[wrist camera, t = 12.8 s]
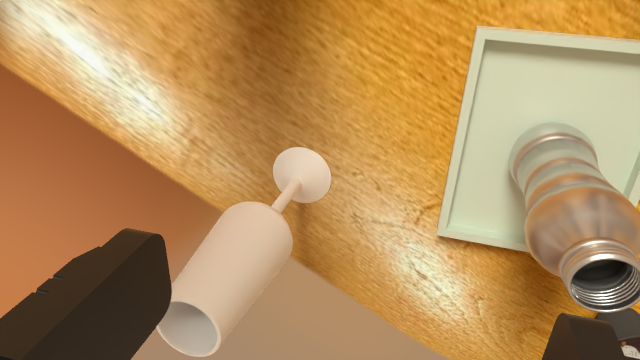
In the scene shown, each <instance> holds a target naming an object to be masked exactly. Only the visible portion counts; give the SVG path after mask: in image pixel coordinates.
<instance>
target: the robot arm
mask: <svg viewBox="0 0 640 360" xmlns="http://www.w3.org/2000/svg"><path fill="white" fill-rule="evenodd" d="M171 296H172V287H171V280H170V274H169V267H168V261H167V254H166V247H165V242H164V239H163V237H162V236H161V235H159V234H155V233H150V232H144V231H140V230H134V229H129V228H127V229H123V230H121V231H120V232H119V233H118V234H116V235H115V236H114V237H113V238H112V239H111V240H109V241H108V242H107V243H106V244H105V245H103V246H102V247H97V248H94V249H93V250H90V251H88V252H86V253H84V254H82V255H80V256H78V257H76V258H74V259H72V260H71V261H70V262H69V263H68V264H66V265H65V266H64V267H63V268H61V269H60V270H59V271H58V272H57V273H55V274H54V276H53V278H52V279H48V280H47V281H46V282H45V283H43V284H42V285H41V286H40V287H38V288H37V291H36V293H31V294H30V295H29V296H27V297H26V298H25V299H24V300H22V301H21V302H20V303H19V304H18V305H16V306H15V307H14V308H13V309H11V310H10V311H9V312H8V313H7V314H5V315H4V316H3V317H2V318H0V360H131V358H132V357H133V356H134V354H135V353H136V352H137V351H138V349H139V348H140V347H141V345H142V344H143V343H144V342H145V340H146V339H147V338H148V337H149V335H150V334H151V333H152V331H153V330H154V329H155V328H156V326H157V325H158V324H159V323H160V321H161V320H162V319H163V317H164V316H165V314H166V312H167V310H168V308H169V305H170V302H171ZM542 360H640V359H638V358H633V357H628V356H625V355H624V353H623V350H622V348H621V345H620V343H619V341H618V338H617V336H616V333H615V331H614V329H613V327H612V325H611V324H610V323H609V322H606V321H601V320H596V319H591V318H586V317H581V316H575V315H570V314H565V313H561V314H560V315H559V316H558V318H557V319H556V322H555V324H554V327H553V330H552V333H551V336H550V338H549V341H548V344H547V347H546V349H545V352H544V355H543V358H542Z"/></svg>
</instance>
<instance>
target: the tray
mask: <svg viewBox="0 0 640 360" xmlns="http://www.w3.org/2000/svg"><path fill="white" fill-rule="evenodd" d="M551 122H554V123H563V124H567V125H570V126H572V127H574V128H576V129H578V130H580V131H581V132H583V133H584V134H586V136H587V137H588V138H589V139H590V140H591V142H592V143H593V145H594V148H595V151H596V155H597V159H598V167H599V169H600V172H601V174H602V175H603V176H604V177H605V179H606V180H607V181H608V182H609V183H610V184H611V185H612V186H613V187H614V188H616V189H617V190H618V191H619V192H620V193H622V194H623V195H624V196H625V197H626V198H627V199H628V200H629V201H630V202H631V203H632V204H633V205H634V207H635V208H636V206H637V204H638V201H639V199H640V40H636V39H625V38H614V37H602V36H591V35H580V34H569V33H557V32H546V31H535V30H524V29H513V28H501V27H490V26H479V25H476V30H475V35H474V40H473V45H472V50H471V56H470V61H469V66H468V71H467V76H466V81H465V86H464V92H463V97H462V102H461V107H460V112H459V117H458V122H457V127H456V133H455V138H454V143H453V148H452V153H451V158H450V163H449V168H448V174H447V179H446V184H445V189H444V194H443V199H442V204H441V209H440V215H439V220H438V225H437V235H439V236H444V237H449V238H455V239H460V240H465V241H471V242H476V243H481V244H487V245H492V246H497V247H502V248H508V249H513V250H518V251H524V252H529V250H528V248H527V245H526V242H525V230H524V226H525V214H526V205H525V197H524V195H523V193H522V191H521V189H520V188H519V187H518V185H517V184H516V182H515V181H514V179H513V177H512V176H511V173H510V170H509V158H510V153H511V150H512V147H513V145H514V143H515V142H516V140H517V139H518V138H519V137H520V136H521V135H522V134H523V133H524V132H525V131H527V130H528V129H530V128H532V127H534V126H537V125H540V124H543V123H551ZM529 253H530V252H529Z"/></svg>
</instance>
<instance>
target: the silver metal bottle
mask: <svg viewBox="0 0 640 360" xmlns="http://www.w3.org/2000/svg"><path fill="white" fill-rule="evenodd" d="M509 170H510V173H511V176H512V177H513V179H514V181H515V182H516V184H517V185H518V187H519V188H520V189H521V191H522V193H523V195H524V197H525V205H526V214H525V226H524V230H525V242H526V245H527V248H528V250H529V252H530V253H531V255H532V257H533V258H534V259H535V260H536V261H537V262H538V263H539V264H540V265H541V266H542V267H543V268H544V269H545V270H547V271H548V272H550V273H551V274H553V275H555V276H558V277H560V278H561V280H562V282H563V283H564V285H565V286H566V288H567V291H568V293H569V295H570V296H571V298H572V299H573V300H574V301H575V302H576V303H577V304H578V305H580V306H581V307H583V308H585V309H588V310H591V311H594V312H601V313H611V312H618V311H622V310H625V309H627V308H630V307H632V306H633V305H635V304H636V303H638V302H639V301H640V261H639V259H638V255H639V253H640V214H639V212H638V210H637V209H636V208H635V207H634V205H633V204H632V203H631V202H630V201H629V200H628V199H627V198H626V197H625V196H624V195H623V194H622V193H620V192H619V191H618V190H617V189H616V188H614V187H613V186H612V185H611V184H610V183H609V182H608V181H607V180H606V179H605V177H604V176H603V175H602V174H601V172H600V169H599V167H598V159H597V155H596V151H595V148H594V145H593V143H592V142H591V140H590V139H589V138H588V137H587V136H586V134H584V133H583V132H581V131H580V130H578V129H576V128H574V127H572V126H570V125H567V124H563V123H554V122H551V123H543V124H540V125H537V126H534V127H532V128H530V129H528V130H527V131H525V132H524V133H523V134H522V135H521V136H520V137H519V138H518V139H517V140H516V142H515V143H514V145H513V147H512V150H511V153H510V158H509Z"/></svg>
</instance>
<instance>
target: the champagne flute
mask: <svg viewBox="0 0 640 360" xmlns="http://www.w3.org/2000/svg"><path fill="white" fill-rule="evenodd" d="M273 177H274V180H275V183H276V185H277V187H278V188H279V190H280V191H281V192H282V193H281V194H280V195H279V197H278V198H277V199H276V200H275V202H274V203H273V204H272V205H271V206H269V205H267V204H264V203H260V202H252V201H248V202H241V203H238V204H235V205H233V206H231V207H230V208H228V209H227V210H226V211H225V212H224V213H223V214H222V215H221V217H220V218H219V220H218V221H217V222H216V224H215V225H214V227H213V228H212V230H211V231H210V232H209V234H208V235H207V236H206V238H205V239H204V241H203V242H202V244H201V245H200V246H199V248H198V249H197V250H196V252H195V253H194V255H193V256H192V258H191V259H190V260H189V262H188V263H187V264H186V266H185V267H184V269H183V270H182V271H181V273H180V274H179V276H178V277H177V278H176V280H175V281H174V283H173V284H172V285H171V287H172V296H171V302H170V305H169V308H168V310H167V312H166V314H165V316H164V317H163V319H162V320H161V321H160V323H159V324H158V325H157V326H156V328H157V330H158V332H159V333H160V335H161V337H162V338H163V339H164V340H165V341H166V342H167V343H168V344H169V345H170V346H172V347H173V348H175V349H176V350H178V351H180V352H182V353H184V354H187V355H190V356H195V357H205V356H209V355H211V354H213V353H214V352H215V351H217V349H218V348H219V347H220V345H221V344H222V343H223V342H224V340H225V339H226V338H227V337H228V335H229V334H230V333H231V331H232V330H233V329H234V328H235V327H236V325H237V324H238V322H240V320H241V319H242V318H243V316H244V315H245V314H246V313H247V311H248V310H249V309H250V308H251V306H252V305H253V304H254V303H255V301H256V300H257V299H258V298H259V296H260V295H261V294H262V292H263V291H264V290H265V289H266V287H267V286H268V285H269V284H270V282H271V281H272V280H273V279H274V277H275V276H276V275H277V274H278V272H279V271H280V270H281V268H282V267H283V266H284V265H285V263H286V262H287V261H288V259H289V258H290V255H291V252H292V247H293V238H292V233H291V230H290V227H289V225H288V223H287V221H286V220H285V218H284V217H283V216H282V215H281V213H282V211H283V210H284V209H285V207H286V206H287V205H288V203H289V202H290V200H294V201H296V202H300V203H312V202H315V201H318V200H320V199H321V198H323V197H324V196H325V195H326V193H327V192H328V191H329V188H330V185H331V173H330V169H329V167H328V165H327V163H326V162H325V160H324V159H323V158H322V157H321V156H320V155H319V154H317V153H316V152H314V151H312V150H310V149H307V148H303V147H293V148H289V149H287V150H285V151H283V152H282V153H280V155H279V156H278V157H277V158H276V160H275V162H274V165H273Z"/></svg>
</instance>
